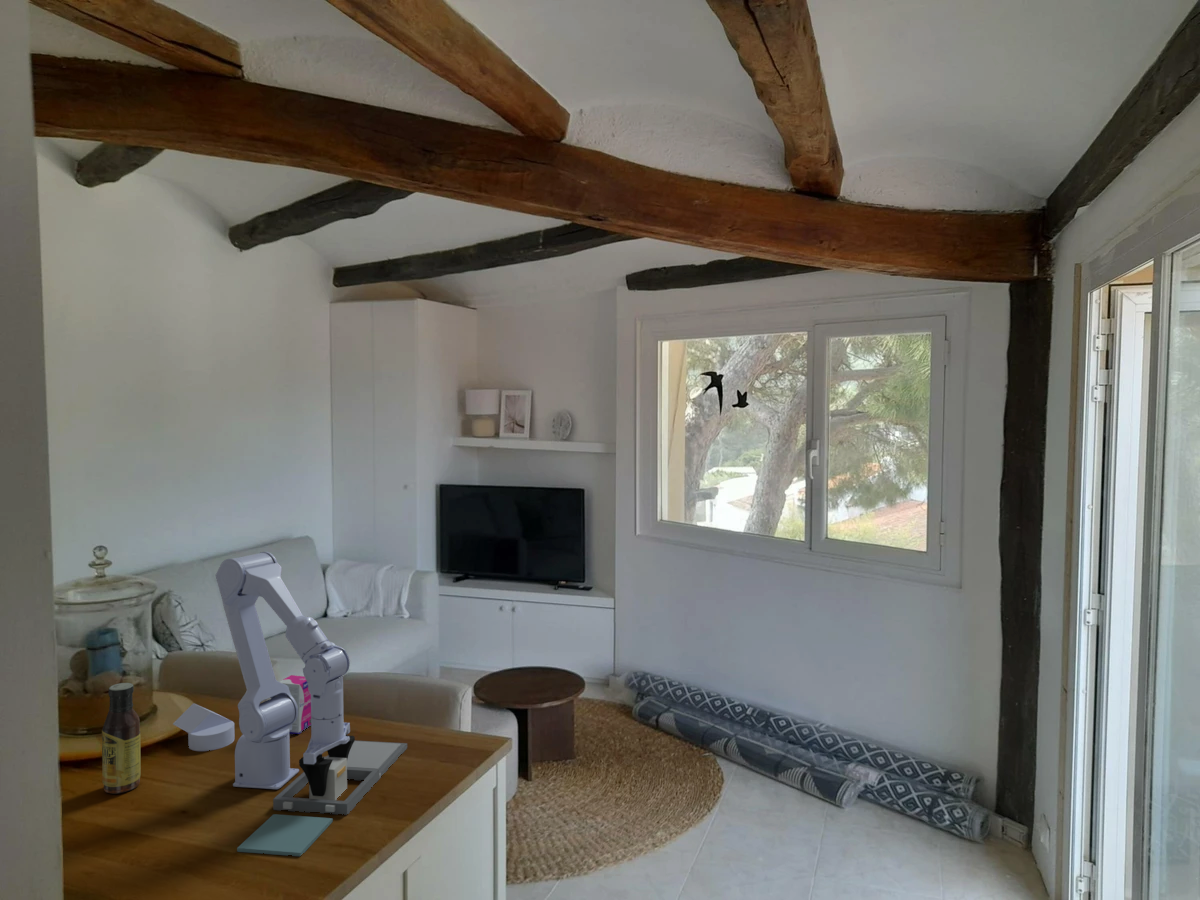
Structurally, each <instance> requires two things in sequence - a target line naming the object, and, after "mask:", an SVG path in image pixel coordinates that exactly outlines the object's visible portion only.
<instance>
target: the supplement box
mask: <svg viewBox="0 0 1200 900" xmlns="http://www.w3.org/2000/svg"><path fill="white" fill-rule="evenodd" d="M278 682H280V683H283V684H285V685H287V686H288V687H289V691H290V693H291V695H292V697H293V698H294V700H295V701H296V703H297V706H298V717H297V719H296V721H295V722H294V723H293V724H292V730H290V731H289V735H293V734H299V735H301V733H303V732H304V731H306V730H307V729H309V728H310V727H309V726H311V694H310V692H309V690H308V682H307V680H306V679H305V677H304V675H303V676H302V675H295V674H291V675H288V676H287V677H286V678H285V677H284V678H283V679H281V680H280V681H278ZM308 727H309V728H308ZM306 728H307V729H306ZM305 729H306V730H305ZM303 730H304V731H303ZM302 731H303V732H302Z"/></svg>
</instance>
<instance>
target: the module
mask: <svg viewBox="0 0 1200 900" xmlns="http://www.w3.org/2000/svg"><path fill="white" fill-rule="evenodd" d="M323 757H324V759H332V762H331V765H330V767H329V771H328V775H327V784H326V791H325V795H324V796H313V795H312V792H311V789H310V785H309V784H308V788H309V789H308V793H309V795H308V797H309V798H308V799H322V800H337V801H338V799H339V798H340V797H341V796H342V795H343V794H344V793H345V792H346V791H347V790H348V780H347V758H337V757H327V756H323ZM346 789H347V790H346ZM345 790H346V791H345ZM344 791H345V792H344ZM343 792H344V793H343ZM342 793H343V794H342ZM341 794H342V795H341ZM339 796H340V797H339ZM338 797H339V798H338ZM337 798H338V799H337Z"/></svg>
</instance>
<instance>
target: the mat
mask: <svg viewBox="0 0 1200 900" xmlns="http://www.w3.org/2000/svg"><path fill="white" fill-rule="evenodd" d="M333 820H334V819H333V818H330V817H321V816H320V817H318V816H302V815H291V814H290V815H288V814H277V813H276V814H274V813H273V814H272V815H271V816H270V817H269V818H268V819H267V820H265V822H263V824H261V825H260V826H259V827H258V828H257V829H256V830H254V832H253V833H252V834H250V836H249V837H247V838H246V839H245V840H244V841H243V842H242V843H241V844H240V845H239V846H237V848H236V852H239V853H252V854H263V853H264V854H265V855H278V856H288V855H292V857H300V856H301V855H302V854H303V853H304V854H305V853H306V852H307V851H308V849H309V848H310V847H311V846H312V845H313V844H314V843H315V842H316V840H317V839H318V838H319V837H320V836H321V835H322V834H323V833H324V832H325V831H326V830H327V829H328V827H330V825H331V824H332V823H333V822H334V821H333ZM304 854H303V855H304ZM303 855H302V856H303ZM302 856H301V857H302Z"/></svg>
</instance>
